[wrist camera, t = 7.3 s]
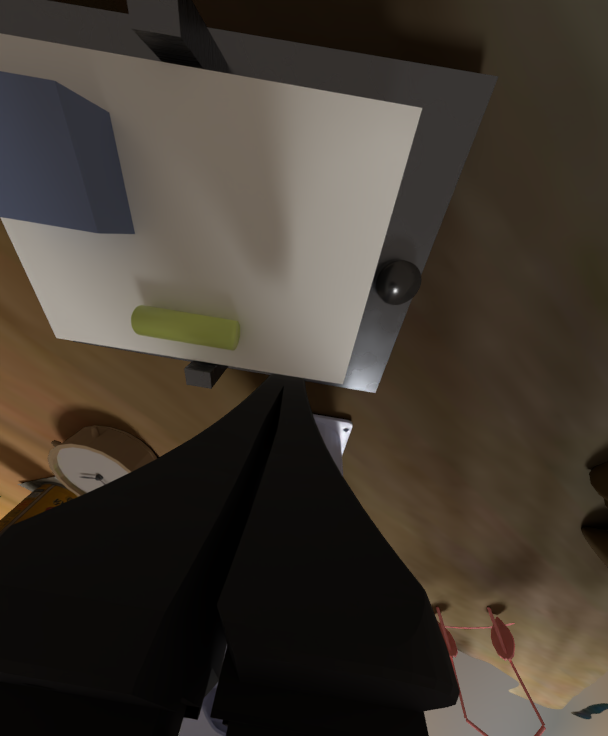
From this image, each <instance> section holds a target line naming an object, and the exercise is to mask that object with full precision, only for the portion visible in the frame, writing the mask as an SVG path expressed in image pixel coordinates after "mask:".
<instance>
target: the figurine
mask: <svg viewBox="0 0 608 736" xmlns="http://www.w3.org/2000/svg"><path fill="white" fill-rule="evenodd" d="M436 609H437V613H438V616H439V619H440V623H439V622H438V621H437V622H438V625H439V627H440V630H441V633H442V635H443V638H444V641H445V643H446V646H447V649H448V652H449V656H450V659H451V662H452V666H453V669H454V672H455V676H456V679H457V675H456V671H455V667H454V663H453V659H452V658H453V656H454V657H456V655H457V653H458V651H457V648H456V644H455V641H454V639H453V637H452V635H451V634H450V632H449V631H448V630H447V629H446V628H445V627H448V626H444V623H443V620H442V616H441V613H440V609H439V607H436ZM487 609H488V612H489V615H490V617H491V620H492V623H493V626H492V627H476V628H464V627H449V628H464V629H477V628H492V629H491V639H492V643H493V646H494V647H495V649H496V651H497V653H498V655H499V656H500V657H501V658H502V659H504V660H505V661H506V659H508V660H509V662H510V663H511V665H512V667H513V669H514V671H515V673H516V675H517V677H518V679H519V681H520V683H521V685H522V687H523V689H524V691H525V693H526V694H527V696H528V698H529V700H530V702H531V704H532V706H533V708H534V710H535V712H536V714H537V716H538V717H539V720H540V722H541V723H542V726H541V728H540V729H539V730H538V732H537V733H536V734H535V735H534V736H540V735H541V734H542V733H543V732H544V730H545V729H546V728H545V727H544V725H545V724H544V722H543V720H542V718H541V716H540V714H539V712H538V711H537V709H536V707H535V705H534V703H533V701H532V699H531V697H530V695H529V693H528V691H527V689H526V687H525V686H524V684H523V682H522V680H521V678H520V676H519V674H518V672H517V670H516V668H515V666H514V664H513V663H512V661H511V659H512V658H513V657H514V650H515V643H514V638H513V636H512V634H511V632H510V630H509V629H508V628H507V627H506V626H508V625H512V624H515V623H511V624H507V625H505V624H504V623H503V622H502V621H501V620H500V619H499V618H498V617H496V619H494V617H493V614H492V611H491V609H490V607H487ZM457 683H458V679H457ZM458 686H459V683H458ZM459 689H460V687H459ZM459 697H460V701H461V705H462V709H463V713H464V718H466V721H467V722H468V723H469V724H470V725H471V726H472V727H474V728H475V729H476V730H477V731H479V732H480V733H481V734H482V735H484V736H488V735H487V734H486V733H484V732H483V731H482V730H481V729H479V728H478V727H477V726H476V725H474V724H473V723H472V722H471V721H469V720H468V719H467V716H466V712H465V708H464V704H463V700H462V695H461V691H460V693H459Z"/></svg>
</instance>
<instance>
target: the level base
mask: <svg viewBox="0 0 608 736" xmlns="http://www.w3.org/2000/svg"><path fill="white" fill-rule="evenodd" d="M127 5H128V11H129V14H125V13H119V12H113V11H108V10H102V9H96V8H90V7H84V6H78V5H72V4H66V3H60V2H54V1H48V0H0V33H1V34H7V35H13V36H18V37H24V38H30V39H35V40H41V41H47V42H52V43H58V44H64V45H69V46H75V47H81V48H86V49H92V50H97V51H103V52H109V53H114V54H120V55H126V56H131V57H137V58H143V59H148V60H154V61H160V62H165V63H171V64H177V65H182V66H188V67H194V68H199V69H205V70H211V71H216V72H222V73H228V74H233V75H239V76H245V77H250V78H256V79H262V80H267V81H273V82H279V83H284V84H290V85H296V86H301V87H307V88H312V89H318V90H324V91H329V92H335V93H341V94H346V95H352V96H358V97H363V98H369V99H375V100H380V101H386V102H392V103H397V104H403V105H409V106H414V107H420V108H422V111H421V114H420V118H419V121H418V125H417V128H416V132H415V135H414V139H413V142H412V146H411V149H410V153H409V156H408V160H407V163H406V167H405V170H404V173H403V177H402V180H401V184H400V187H399V191H398V194H397V198H396V201H395V205H394V208H393V212H392V215H391V219H390V222H389V226H388V229H387V233H386V236H385V240H384V243H383V246H382V250H381V253H380V257H379V260H378V264H377V267H376V271H375V274H374V278H373V281H372V285H371V288H370V292H369V295H368V299H367V302H366V306H365V309H364V312H363V316H362V319H361V323H360V326H359V330H358V333H357V337H356V340H355V344H354V347H353V351H352V354H351V358H350V361H349V365H348V368H347V372H346V375H345V378H344V382H343V384H337V383H331V382H325V381H319V380H313V379H307V378H303V379H304V380H305V381H309V382H314V383H320V384H326V385H332V386H338V387H344V388H350V389H356V390H362V391H367V392H373V393H375V392H376V389H377V387H378V384H379V382H380V379H381V377H382V374H383V371H384V369H385V366H386V364H387V361H388V359H389V356H390V354H391V351H392V348H393V346H394V343H395V341H396V338H397V336H398V333H399V330H400V328H401V325H402V323H403V320H404V318H405V315H406V312H407V310H408V307H409V305H410V302H411V300H412V298H413V297H414V296H415V294H416V293H417V292H418V290H419V288H420V285H421V274H422V271H423V269H424V266H425V264H426V261H427V258H428V256H429V253H430V251H431V248H432V246H433V243H434V241H435V238H436V235H437V233H438V230H439V228H440V225H441V223H442V220H443V217H444V215H445V212H446V210H447V207H448V205H449V202H450V199H451V197H452V194H453V192H454V189H455V187H456V184H457V181H458V179H459V176H460V174H461V171H462V169H463V166H464V163H465V161H466V158H467V156H468V153H469V151H470V148H471V145H472V143H473V140H474V138H475V135H476V133H477V130H478V128H479V125H480V122H481V120H482V117H483V115H484V112H485V110H486V107H487V104H488V102H489V99H490V97H491V94H492V92H493V89H494V86H495V84H496V81H497V79H498V76H492V75H486V74H480V73H474V72H468V71H462V70H456V69H451V68H445V67H439V66H433V65H427V64H421V63H415V62H409V61H403V60H397V59H391V58H385V57H380V56H374V55H368V54H362V53H356V52H350V51H344V50H338V49H332V48H326V47H320V46H315V45H309V44H303V43H297V42H291V41H285V40H279V39H273V38H267V37H261V36H255V35H249V34H244V33H238V32H232V31H226V30H220V29H214V28H208V27H207V26H206V25H205V23H204V21H203V19H202V18H201V16H200V14H199V12H198V10H197V9H196V7H195V5H194V3H193V2H192V0H127ZM73 342H79V341H73ZM79 343H85V342H79ZM85 344H91V343H85ZM91 345H96V346H102V347H108V348H114V349H120V350H126V351H132V352H138V353H144V354H149V355H155V356H161V357H167V358H173V359H179V360H185V361H191V363H190V364H189V365H188V366H187V367H186V368H184V370H185V376H186V382H187V385H193V386H199V387H205V388H211V389H212V387H213V386H214V385H215V383H216V382H217V381H218V379H219V378H220V377H221V375H222V374H223V373H224V371H225V370H226V369H227V368H232V369H238V370H244V371H250V372H256V373H261V374H267V375H271V374H276V373H270V372H264V371H257V370H251V369H245V368H239V367H233V366H227V365H220V364H214V363H208V362H202V361H196V360H190V359H183V358H177V357H171V356H165V355H159V354H153V353H146V352H140V351H134V350H128V349H122V348H116V347H110V346H103V345H97V344H91ZM279 375H282V374H279ZM286 376H288V375H286ZM293 377H294V376H293Z"/></svg>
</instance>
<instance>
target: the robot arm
mask: <svg viewBox="0 0 608 736" xmlns="http://www.w3.org/2000/svg"><path fill="white" fill-rule="evenodd" d="M344 428H347V429H344ZM351 429H352V422H351V421H350V420H345V419H339V418H333V417H327V416H322V415H316V414H313V413H312V410H311V407H310V404H309V401H308V397H307V393H306V387H305V380H304V379H303V378H300V377H293V376H286V375H279V374H271V375H270V376H269V377H268V378H267V379H266V380H265V381H264V382H263V383H262V384H261V385H260V386H259V387H258V388H257V389H256V390H255V391H254V392H253V393H251V394H250V395H249V396H248V397H247V398H246V399H245V400H244V401H242V402H241V403H240V404H239V405H238V406H236V407H235V408H234V409H233V410H231V411H230V412H229V413H228V414H226V415H225V416H224V417H222V418H221V419H220V420H218V421H217V422H216V423H214V424H213V425H211V426H210V427H209V428H207V429H206V430H204V431H203V432H201V433H199V434H198V435H196V436H195V437H193V438H192V439H190V440H188V441H187V442H185V443H183V444H182V445H180V446H178V447H177V448H175V449H173V450H171V451H170V452H168V453H166V454H164V455H163V456H161V457H159V458H157V459H155V460H154V461H152V462H150V463H148V464H146V465H144V466H142V467H140V468H138V469H136V470H134V471H132V472H130V473H128V474H126V475H124V476H122V477H120V478H118V479H116V480H114V481H112V482H109V483H107V484H105V485H103V486H101V487H99V488H97V489H94V490H92V491H90V492H88V493H86V494H83V495H81V496H79V497H76V498H74V499H72V500H69V501H67V502H65V503H63V504H60V505H58V506H56V507H53V508H51V509H49V510H46V511H44V512H42V513H39V514H37V515H35V516H33V517H30V518H28V519H25V520H23V521H21V522H18V523H16V524H13V525H11V526H10V527H9V528H8V529H7V530H5V531H4V532H3V533H2V534H1V535H0V736H178V735H179V736H429V735H428V731H427V726H426V721H425V716H424V711H427V710H433V709H439V708H445V707H449V706H452V705H455V704H456V702H457V699H458V696H459V693H460V689H459V686H458V683H457V679H456V676H455V672H454V669H453V666H452V662H451V659H450V656H449V652H448V649H447V646H446V643H445V641H444V638H443V635H442V633H441V630H440V627H439V625H438V622H437V619H436V617H435V614H434V612H433V609H432V606H431V604H430V601H429V599H428V596H427V594H426V591H425V590H424V588H423V587H422V586H421V584H420V583H419V582H418V581H417V579H416V578H415V577H414V576H413V574H412V573H411V572H410V571H409V569H408V568H407V567H406V565H405V564H404V563H403V562H402V560H401V559H400V558H399V557H398V555H397V554H396V553H395V551H394V550H393V549H392V547H391V546H390V545H389V543H388V542H387V541H386V539H385V538H384V537H383V535H382V534H381V533H380V531H379V530H378V528H377V527H376V526H375V524H374V523H373V521H372V520H371V519H370V517H369V516H368V514H367V513H366V511H365V510H364V509H363V507H362V506H361V504H360V502H359V501H358V499H357V498H356V496H355V495H354V493H353V492H352V490H351V488H350V487H349V485H348V484H347V482H346V481H345V479H344V478H343V466H342V454H343V452H344V449H345V446H346V443H347V440H348V438H349V435H350V432H351ZM179 731H180V733H179Z"/></svg>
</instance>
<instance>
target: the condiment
mask: <svg viewBox="0 0 608 736" xmlns="http://www.w3.org/2000/svg"><path fill="white" fill-rule="evenodd" d="M18 485H20V486H22V487H25V488H26V489H28V490H30V491H31V492H32V493H31V494H30V495H28V496H27V497H26V498H25V499H24V500H23V501H22V502H21V503H19V504H18V505H17V506H16V507H15V508H14V509H13V510H11V511H10V512H9V513H8V514H7V515H6V516H5V517H3V518H2V519H1V520H0V535H1V534H2V533H3V532H4V531H5V530H7V529H8V528H9V527H10V526H11V525H13V524H16V523H18V522H21V521H23V520H25V519H28V518H30V517H33V516H35V515H37V514H39V513H42V512H44V511H46V510H49V509H51V508H53V507H56V506H58V505H60V504H63V503H65V502H67V501H69V500H72V499H74V498H76V497H79V496H77V495H76V494H74V493H73V492H72V491H70V490H69V489H67V488H66V487H65V486H64V485H63V484H62V483H61V482H60V481H59V480H58V479H57V478H56V477H50V478H44V479H39V480H35V481H30V482H25V483H22V484H18Z"/></svg>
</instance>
